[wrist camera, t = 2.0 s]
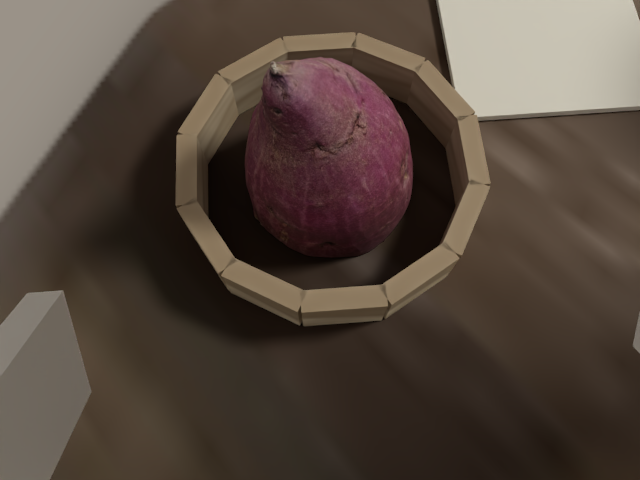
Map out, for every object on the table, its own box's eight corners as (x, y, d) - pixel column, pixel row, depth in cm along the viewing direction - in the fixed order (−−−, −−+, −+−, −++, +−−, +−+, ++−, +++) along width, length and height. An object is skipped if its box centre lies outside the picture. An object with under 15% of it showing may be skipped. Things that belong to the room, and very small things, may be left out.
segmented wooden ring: (447, 60, 39) (458, 25, 36) (494, 311, 33) (513, 296, 30) (190, 77, 39) (177, 43, 36) (188, 334, 33) (173, 322, 29)
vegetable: (284, 285, 37) (185, 258, 23) (244, 144, 39) (130, 36, 25) (438, 234, 36) (439, 170, 21) (388, 90, 38) (356, -59, 23)
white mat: (611, -48, 43) (614, -54, 42) (663, 108, 38) (668, 104, 38) (429, -38, 43) (430, -43, 42) (458, 122, 38) (460, 117, 37)
